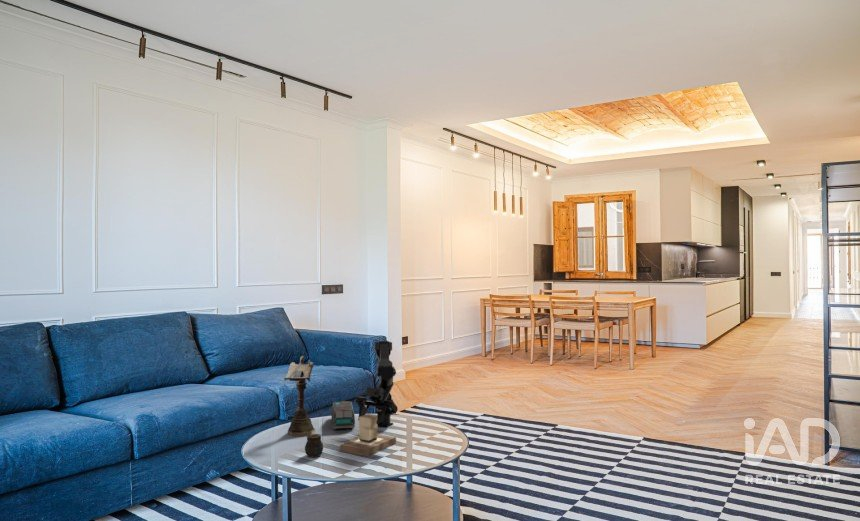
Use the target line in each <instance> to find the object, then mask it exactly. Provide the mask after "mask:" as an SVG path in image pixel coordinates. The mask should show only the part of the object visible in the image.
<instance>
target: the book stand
mask: <svg viewBox="0 0 860 521" xmlns="http://www.w3.org/2000/svg"><path fill="white" fill-rule="evenodd" d="M299 360H300V361H299V363H298V364H297V363H296V362H295V361H294V362H293V361H292V362H290V364H289V367H288V372H287V374H286V376H285V377H284V378H283V382H282V383H285V381H290V382H295V385H296V386H295V389H296V390H298V397H297V400H298V407H297V408H296V410H295V413H294V414H293V415H294V416H293V417H292V419H291V422H290V425H289V427H288V430H287V435H289V436H290V437H307V436H308V434H309V435H311V434H315V433H316V428H315V427H314V425H313V423H312V418H311V417H310V416H309V413H308V412H307V409H306V408H305V407H304V403H305V390H306V389H307V385H308V383H307V381H308V382H309V383H311V375H312V372H313V368H314V362H311V360H309V359H308V362H307V364H305V362H304V360H305V355H302V356H300V357H299ZM306 380H307V381H306ZM305 430H306V432H308V434H307V433H306V432H305Z"/></svg>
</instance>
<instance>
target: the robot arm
mask: <svg viewBox="0 0 860 521" xmlns="http://www.w3.org/2000/svg"><path fill="white" fill-rule="evenodd" d="M373 347H374V352H375V355H376V357H377V359H378V363H377V364H378V366H377V367H376V377H378V378H379V382H378V383H379V384H378V385H377V387H376V388H375V387H368V386H367V387H366V390H365V393H364V395H365V396H367V397H368V399H369V400H368V399H367V397H365V396H361V395H360V396H357V397H356V398H355V401H354V402H355V403H356V404H357V406H358V410H359V411H358V417H357V418H358V421H359V417H360V416H363V415H366V414H368V411H369V410H368V409H370V407H374V413H375V414H376V415H377V417H378V419H377V422H376V423H377V424H378V427H383V428H387V427H389V426H392V425H394V422H391V416H392V415H393V414H397V412H398V410H399V408H398V406H397V405H396V403H395V402H394V399H392V394H391V391H392V388H393V386H394V385H395V384H394V377H395V376H396V375H397V369H396V368H395V366H393V361H391V360H390V355H391V352H392V351H393V341H390V340H377V341H376V342H374V346H373Z"/></svg>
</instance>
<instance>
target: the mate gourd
mask: <svg viewBox="0 0 860 521" xmlns="http://www.w3.org/2000/svg"><path fill="white" fill-rule="evenodd" d="M305 432H306V430H305ZM306 433H307V434H308V432H306ZM323 450H324V445H323V442H322V435H321V434H320V433H313V434H311V435H309V434H308V436H306V443H305V446H304V451H305V454H306V455H307V457H309V458H318V457H320V456H321V455H322V454H323Z"/></svg>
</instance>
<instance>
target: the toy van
mask: <svg viewBox="0 0 860 521" xmlns="http://www.w3.org/2000/svg"><path fill="white" fill-rule="evenodd" d="M330 411H331V412H330V414H331V416H330V417H331V425H332V429H333V430H337V429H350V428H351V429H354V430H355V427H356V420H355V416H356V415H355V410H354V406H353V403H352V401H348V400H347V401H346V400H342V401H335V402H333V403H332V406H331V410H330ZM351 429H350V430H351Z"/></svg>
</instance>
